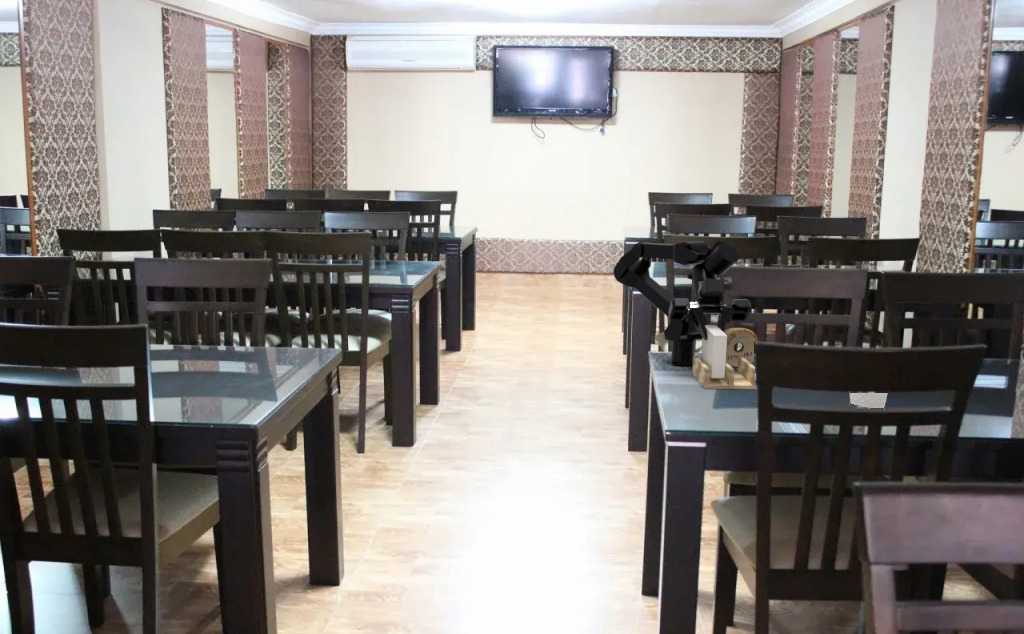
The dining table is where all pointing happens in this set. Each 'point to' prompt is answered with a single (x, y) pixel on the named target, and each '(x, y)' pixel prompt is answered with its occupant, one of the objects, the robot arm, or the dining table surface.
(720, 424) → the dining table surface
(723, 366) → the white block
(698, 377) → the plate rack
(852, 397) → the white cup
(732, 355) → the stone disc
